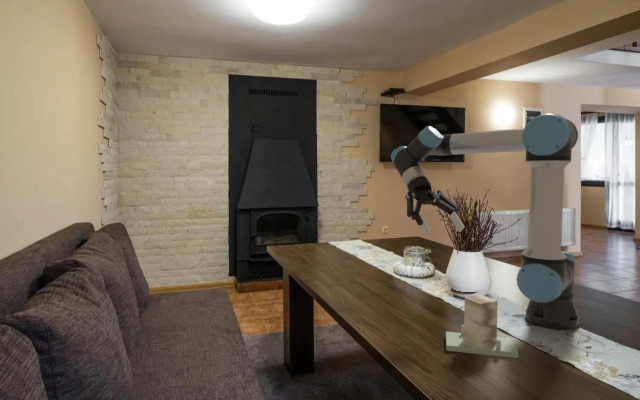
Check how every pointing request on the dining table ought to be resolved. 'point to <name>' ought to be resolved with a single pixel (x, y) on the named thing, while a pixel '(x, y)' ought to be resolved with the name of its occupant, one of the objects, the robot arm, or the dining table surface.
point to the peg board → (501, 348)
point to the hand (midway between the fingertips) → (445, 231)
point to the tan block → (480, 320)
